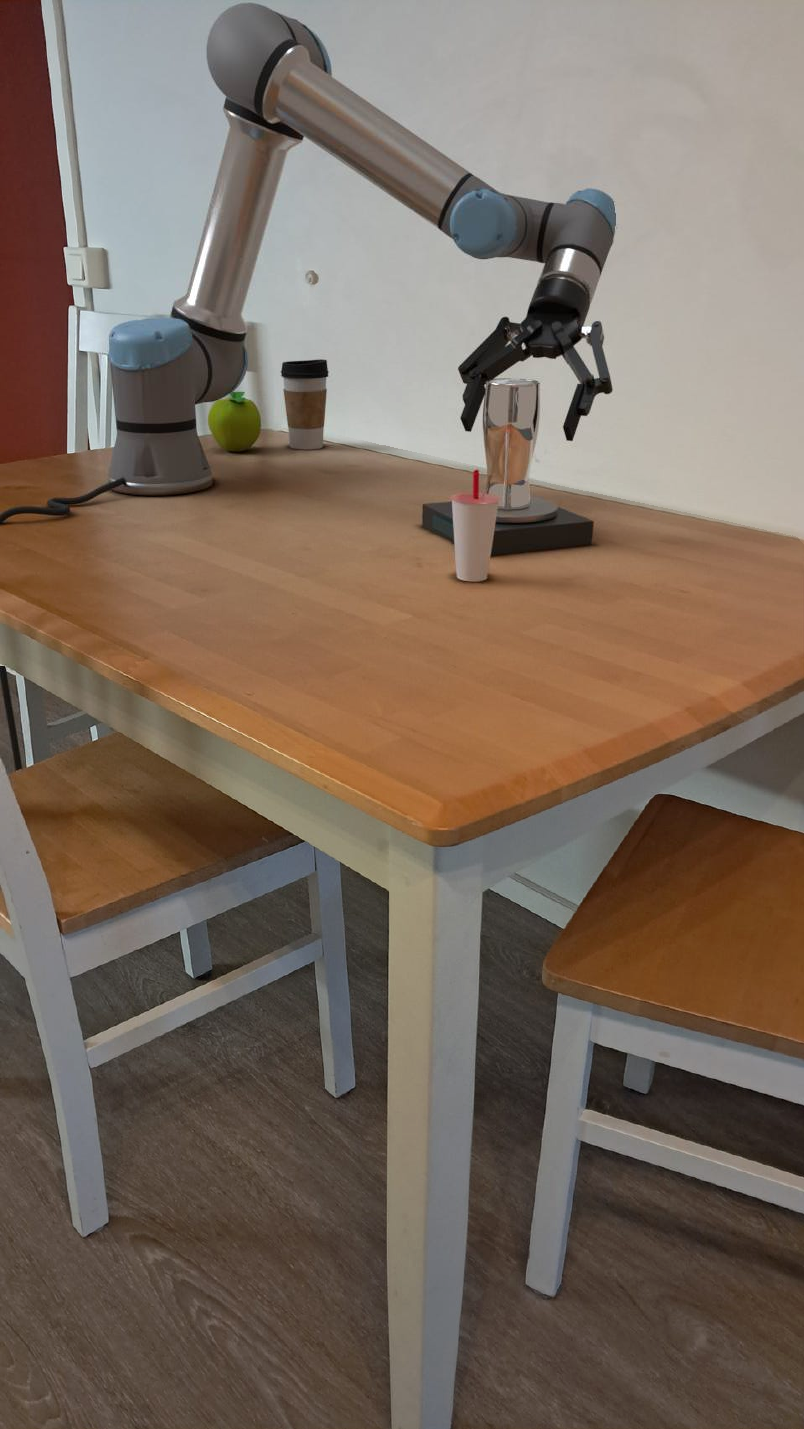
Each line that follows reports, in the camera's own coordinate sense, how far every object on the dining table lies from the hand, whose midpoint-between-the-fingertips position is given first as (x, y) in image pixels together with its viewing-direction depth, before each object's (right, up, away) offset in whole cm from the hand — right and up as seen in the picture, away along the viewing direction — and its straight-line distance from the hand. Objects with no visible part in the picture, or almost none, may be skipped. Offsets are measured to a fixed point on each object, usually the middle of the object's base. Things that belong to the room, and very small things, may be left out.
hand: (515, 429), depth 133 cm
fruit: (-44, +11, +56) cm, 72 cm away
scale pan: (-1, -10, +2) cm, 10 cm away
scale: (-1, -13, +4) cm, 13 cm away
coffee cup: (-32, +13, +60) cm, 69 cm away
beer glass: (-1, -9, +2) cm, 9 cm away
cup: (-6, -20, -14) cm, 25 cm away
